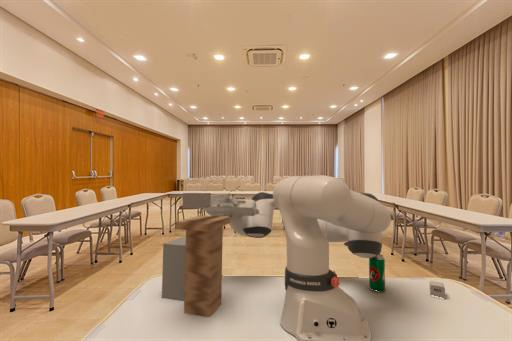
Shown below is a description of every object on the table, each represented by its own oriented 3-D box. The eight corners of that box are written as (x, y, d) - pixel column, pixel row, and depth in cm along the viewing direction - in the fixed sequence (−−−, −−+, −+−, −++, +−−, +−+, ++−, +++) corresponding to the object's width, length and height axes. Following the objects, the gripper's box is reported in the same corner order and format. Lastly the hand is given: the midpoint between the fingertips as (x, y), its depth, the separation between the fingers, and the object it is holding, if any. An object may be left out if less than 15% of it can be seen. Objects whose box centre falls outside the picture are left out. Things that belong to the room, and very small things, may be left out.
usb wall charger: (430, 296, 87) (430, 284, 88) (429, 289, 93) (429, 278, 93) (445, 299, 85) (445, 287, 86) (443, 292, 91) (442, 280, 91)
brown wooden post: (229, 299, 84) (230, 216, 85) (207, 325, 68) (209, 223, 70) (200, 295, 86) (202, 215, 88) (172, 319, 71) (175, 221, 72)
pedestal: (206, 282, 98) (207, 236, 98) (184, 300, 82) (185, 245, 83) (187, 280, 100) (188, 234, 101) (161, 297, 84) (163, 243, 85)
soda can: (386, 293, 90) (386, 257, 90) (371, 291, 91) (370, 256, 91) (382, 287, 95) (382, 253, 95) (367, 286, 96) (367, 252, 96)
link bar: (235, 202, 95) (235, 191, 95) (202, 208, 70) (202, 193, 70) (219, 201, 97) (219, 190, 97) (182, 208, 72) (182, 193, 72)
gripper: (259, 222, 99) (250, 206, 88) (209, 219, 105) (195, 204, 93) (261, 206, 103) (253, 189, 91) (212, 205, 108) (199, 188, 97)
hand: (223, 197), depth 93 cm, fingers closed on link bar, 3 cm apart
